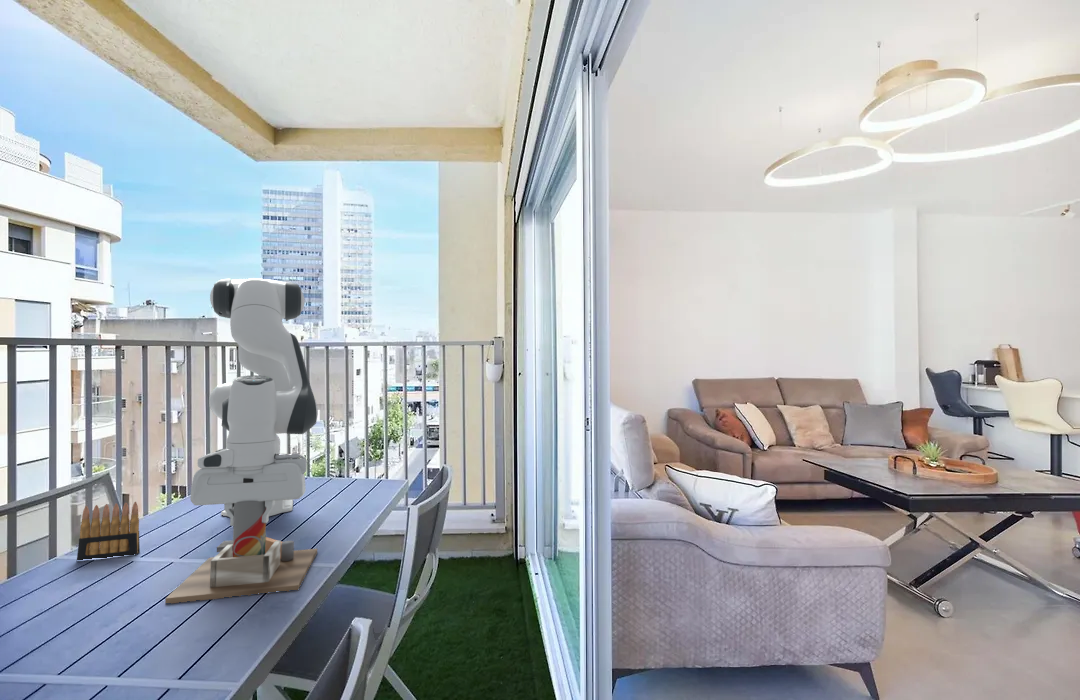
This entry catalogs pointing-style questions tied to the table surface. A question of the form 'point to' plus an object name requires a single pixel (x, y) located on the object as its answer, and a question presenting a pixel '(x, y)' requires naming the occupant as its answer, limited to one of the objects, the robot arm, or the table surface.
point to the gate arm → (282, 548)
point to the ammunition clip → (109, 533)
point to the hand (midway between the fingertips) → (249, 523)
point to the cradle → (243, 574)
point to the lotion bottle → (249, 527)
